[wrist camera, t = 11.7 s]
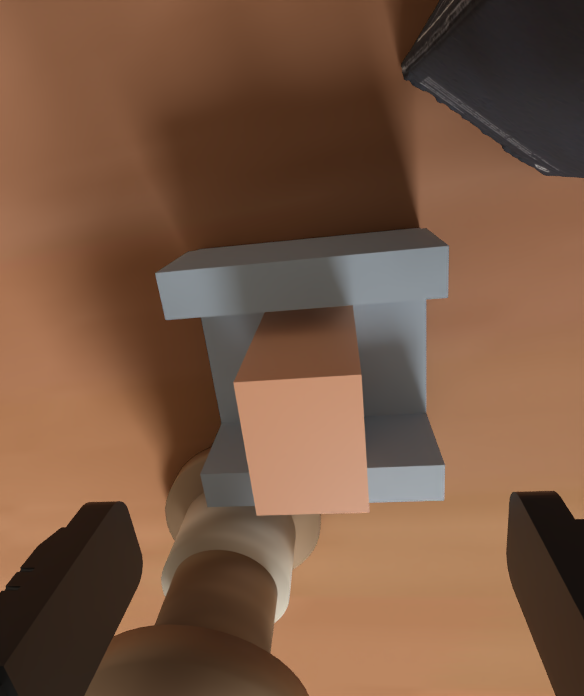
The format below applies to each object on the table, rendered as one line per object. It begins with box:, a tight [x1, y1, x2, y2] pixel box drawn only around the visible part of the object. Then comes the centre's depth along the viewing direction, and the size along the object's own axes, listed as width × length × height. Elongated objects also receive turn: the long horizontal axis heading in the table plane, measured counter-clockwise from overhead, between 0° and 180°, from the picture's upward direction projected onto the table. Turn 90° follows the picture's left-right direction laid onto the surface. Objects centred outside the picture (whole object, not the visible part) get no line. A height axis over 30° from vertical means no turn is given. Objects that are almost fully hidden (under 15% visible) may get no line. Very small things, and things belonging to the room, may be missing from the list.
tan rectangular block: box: [233, 305, 370, 516], centre depth 14 cm, size 3×4×6 cm
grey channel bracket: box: [155, 228, 449, 507], centre depth 16 cm, size 8×8×4 cm
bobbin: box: [84, 448, 321, 696], centre depth 17 cm, size 7×7×10 cm
